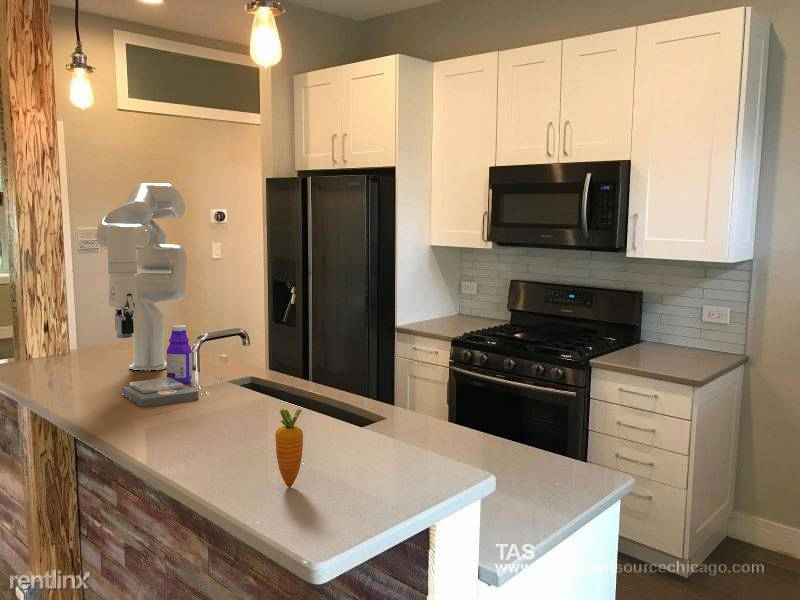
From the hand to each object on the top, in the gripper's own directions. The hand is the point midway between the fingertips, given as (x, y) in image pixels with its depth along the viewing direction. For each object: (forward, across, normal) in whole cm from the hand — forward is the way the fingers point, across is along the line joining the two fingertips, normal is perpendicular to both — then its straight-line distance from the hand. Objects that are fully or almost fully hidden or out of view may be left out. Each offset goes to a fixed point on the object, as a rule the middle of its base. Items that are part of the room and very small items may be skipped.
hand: (124, 331), depth 191 cm
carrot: (+16, +92, -1) cm, 94 cm away
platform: (+15, +11, +5) cm, 19 cm away
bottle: (+17, 0, +16) cm, 23 cm away
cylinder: (+1, 0, 0) cm, 1 cm away
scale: (+17, +14, +4) cm, 22 cm away
